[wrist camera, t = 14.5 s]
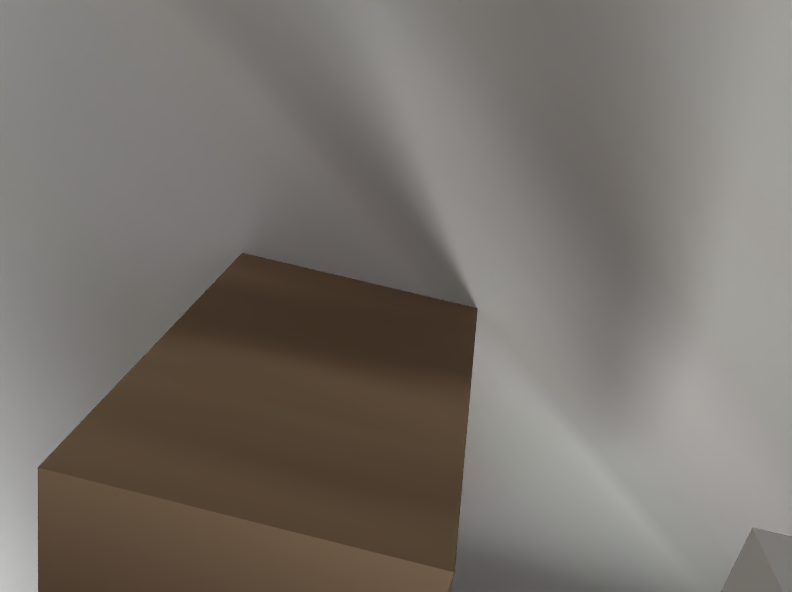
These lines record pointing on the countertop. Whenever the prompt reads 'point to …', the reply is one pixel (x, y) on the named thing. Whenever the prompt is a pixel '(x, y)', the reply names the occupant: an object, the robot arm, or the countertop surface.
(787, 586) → the robot arm
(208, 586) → the walnut block
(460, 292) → the countertop surface
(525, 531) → the countertop surface
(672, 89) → the countertop surface
